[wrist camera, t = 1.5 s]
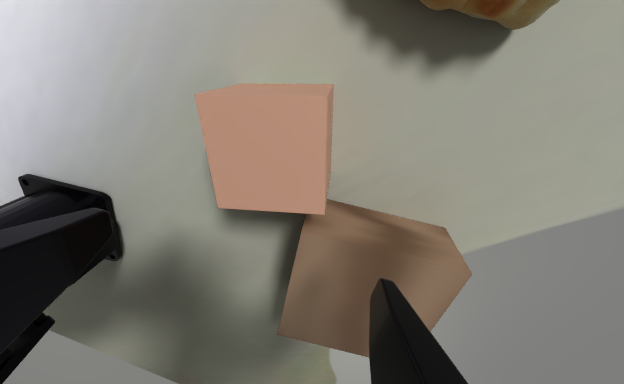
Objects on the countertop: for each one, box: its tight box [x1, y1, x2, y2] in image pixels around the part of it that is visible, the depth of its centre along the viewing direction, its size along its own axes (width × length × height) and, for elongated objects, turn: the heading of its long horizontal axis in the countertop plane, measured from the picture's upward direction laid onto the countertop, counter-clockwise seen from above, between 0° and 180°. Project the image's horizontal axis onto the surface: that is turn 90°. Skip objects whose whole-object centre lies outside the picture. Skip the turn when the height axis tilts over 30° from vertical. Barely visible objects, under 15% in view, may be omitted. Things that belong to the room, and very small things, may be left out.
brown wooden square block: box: [277, 199, 472, 357], centre depth 17 cm, size 9×9×4 cm
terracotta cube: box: [195, 84, 334, 215], centre depth 13 cm, size 5×5×5 cm
